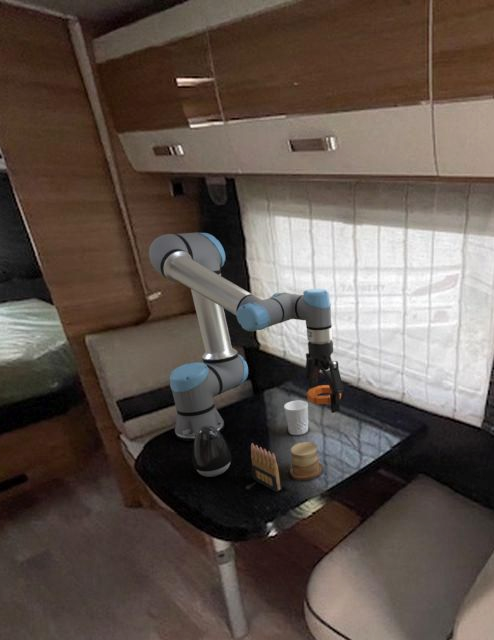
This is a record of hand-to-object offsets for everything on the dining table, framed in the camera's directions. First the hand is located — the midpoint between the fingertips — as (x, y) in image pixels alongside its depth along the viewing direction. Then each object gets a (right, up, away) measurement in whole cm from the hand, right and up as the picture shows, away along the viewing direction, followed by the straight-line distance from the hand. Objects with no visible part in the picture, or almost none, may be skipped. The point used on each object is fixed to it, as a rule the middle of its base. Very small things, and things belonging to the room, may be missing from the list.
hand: (325, 405), depth 136 cm
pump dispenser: (-30, -19, -12) cm, 38 cm away
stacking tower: (-3, -19, -11) cm, 22 cm away
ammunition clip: (-13, -22, -17) cm, 30 cm away
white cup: (-12, -10, +11) cm, 19 cm away
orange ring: (0, +3, -1) cm, 3 cm away
